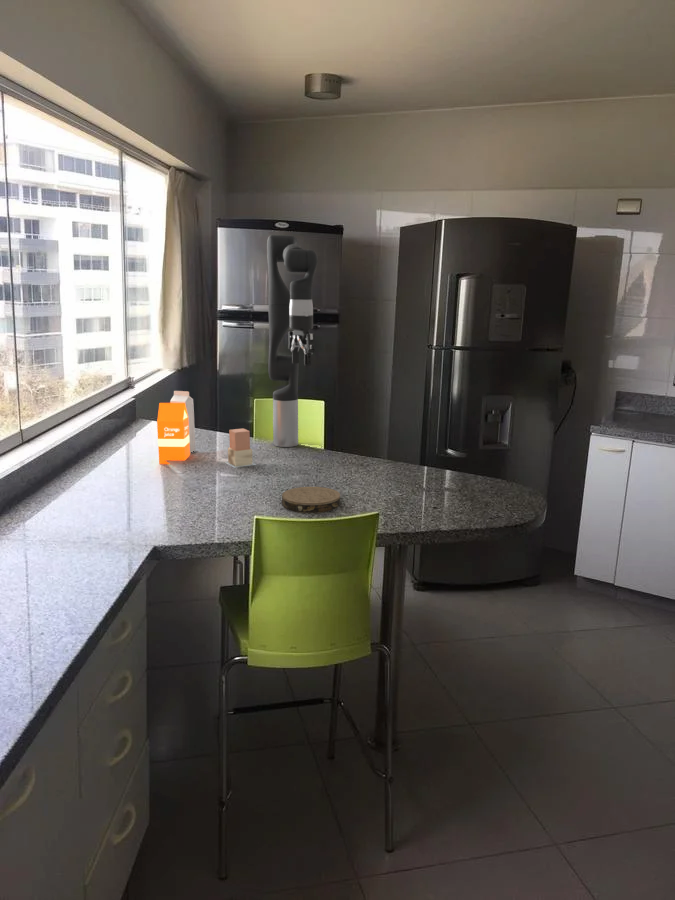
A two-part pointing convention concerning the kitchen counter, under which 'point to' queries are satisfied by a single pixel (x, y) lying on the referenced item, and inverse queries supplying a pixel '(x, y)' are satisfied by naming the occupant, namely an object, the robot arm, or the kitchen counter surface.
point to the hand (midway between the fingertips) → (301, 364)
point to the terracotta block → (239, 439)
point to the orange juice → (173, 432)
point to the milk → (185, 398)
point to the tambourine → (311, 499)
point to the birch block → (240, 457)
